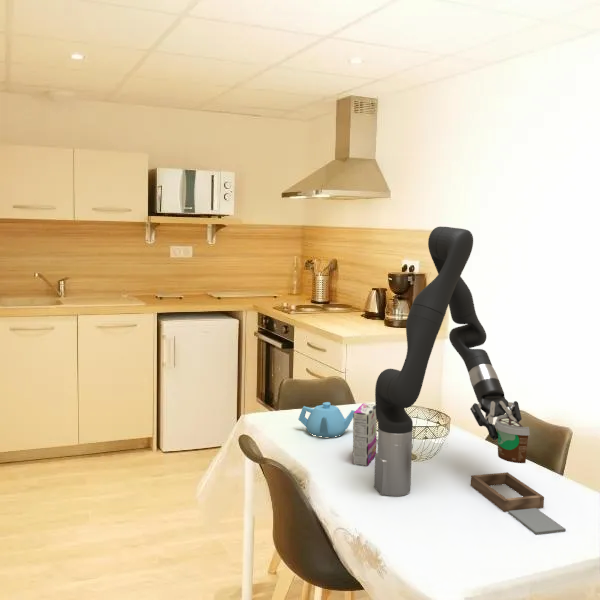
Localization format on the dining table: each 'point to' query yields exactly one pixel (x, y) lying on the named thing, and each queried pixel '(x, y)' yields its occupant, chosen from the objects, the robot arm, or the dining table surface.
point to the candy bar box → (364, 434)
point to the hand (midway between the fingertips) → (506, 437)
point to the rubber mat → (536, 521)
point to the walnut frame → (508, 504)
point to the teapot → (325, 420)
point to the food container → (511, 439)
